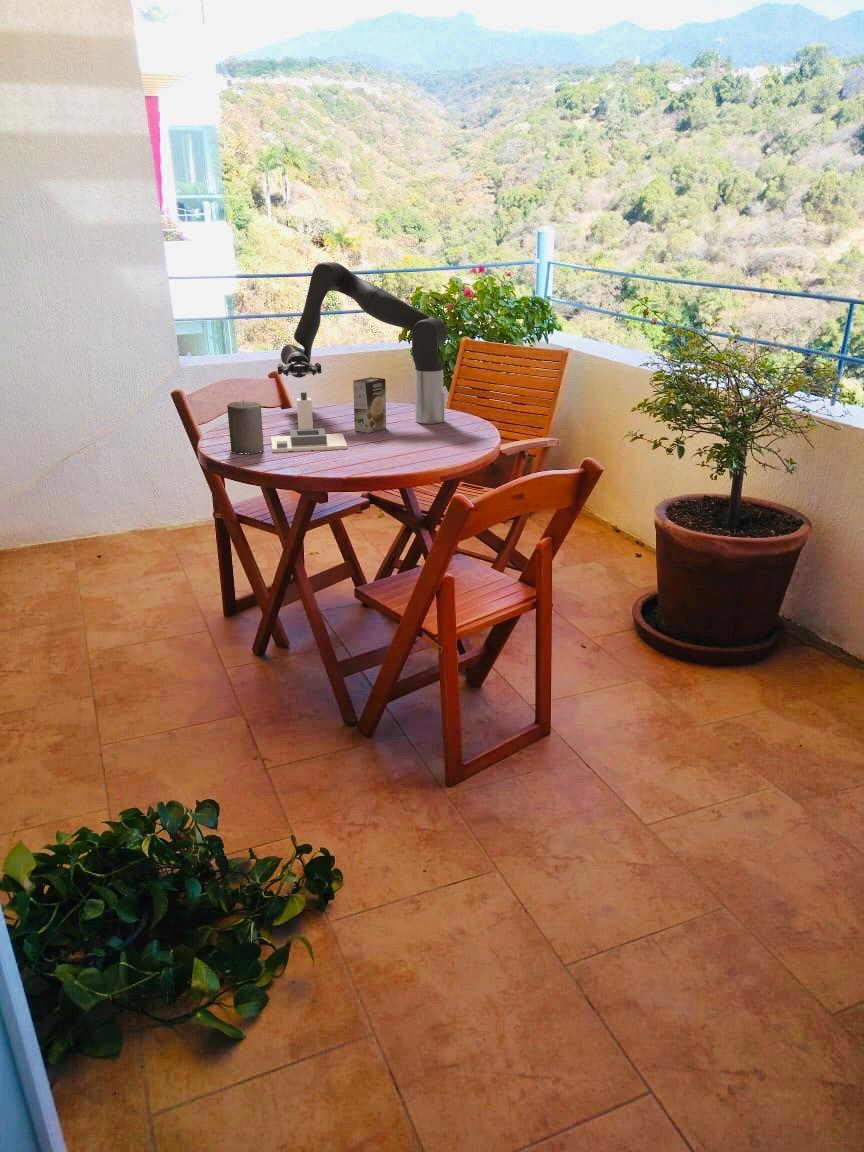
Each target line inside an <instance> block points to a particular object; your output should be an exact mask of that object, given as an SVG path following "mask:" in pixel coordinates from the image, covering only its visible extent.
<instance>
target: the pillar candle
mask: <svg viewBox="0 0 864 1152" xmlns="http://www.w3.org/2000/svg"><path fill="white" fill-rule="evenodd" d="M226 408H227V417H228V430H229V440H230V452H231V451H232V452H235V453H243V454H242V455H249V454H248V453H256V454H258V453H257V452H260V451H262V452H264V451H263V450H265V449H264V448H265V447H264V432H263V429H264V428H263V417H262V404H261V403H260V402H257V401H249V400H248V401H247V400H244V399H242V401H232V402H230V403H227V407H226ZM232 452H231V453H232ZM235 453H234V454H235ZM245 453H247V454H245ZM260 453H261V452H260Z"/></svg>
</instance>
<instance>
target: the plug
mask: <svg viewBox="0 0 864 1152" xmlns="http://www.w3.org/2000/svg"><path fill="white" fill-rule="evenodd" d="M296 411H297V425H298V427H297V428H298V430H300V429H314V425H313V424H314V423H313V420H314V419H313V404H312V398H311V397H308V395H307V392H306V391H305V392H304V391H302V392H300V398H299V397H297V398H296Z"/></svg>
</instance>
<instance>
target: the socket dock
mask: <svg viewBox="0 0 864 1152" xmlns="http://www.w3.org/2000/svg"><path fill="white" fill-rule="evenodd" d="M289 433H290V434H289V435H277V436H274V435H273V436H270V438H271V440H270V441H271V442H270V443H271V452H274V453H289V452H288V451H294V452H310V451H311V450H314V451H331V450H333V451H334V450H348V443H347V441H346V438H345V437H344V434H343V433H342V432H341V433H326V431H325V428H324V427H323V428H322V427H321V428H313V429H300V430H299V429H289Z"/></svg>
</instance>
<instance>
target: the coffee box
mask: <svg viewBox="0 0 864 1152" xmlns="http://www.w3.org/2000/svg"><path fill="white" fill-rule="evenodd" d="M386 381H387V380H386V378H382V377H373V376H372V377H371V376H370V377H365V378H359V379H355V380H354V379H353V381H352V383H353V386H352V387H353V411H354V412H353V414H354V415H353V416H354V417H353V418H354V421H353V422H354V431H356V432H362V433H367V434H369V433H373V432H378V431H381V430H384V429H387V398H386V397H387V393H386V392H387V390H386V389H387V388H386V386H387V384H386Z"/></svg>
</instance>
